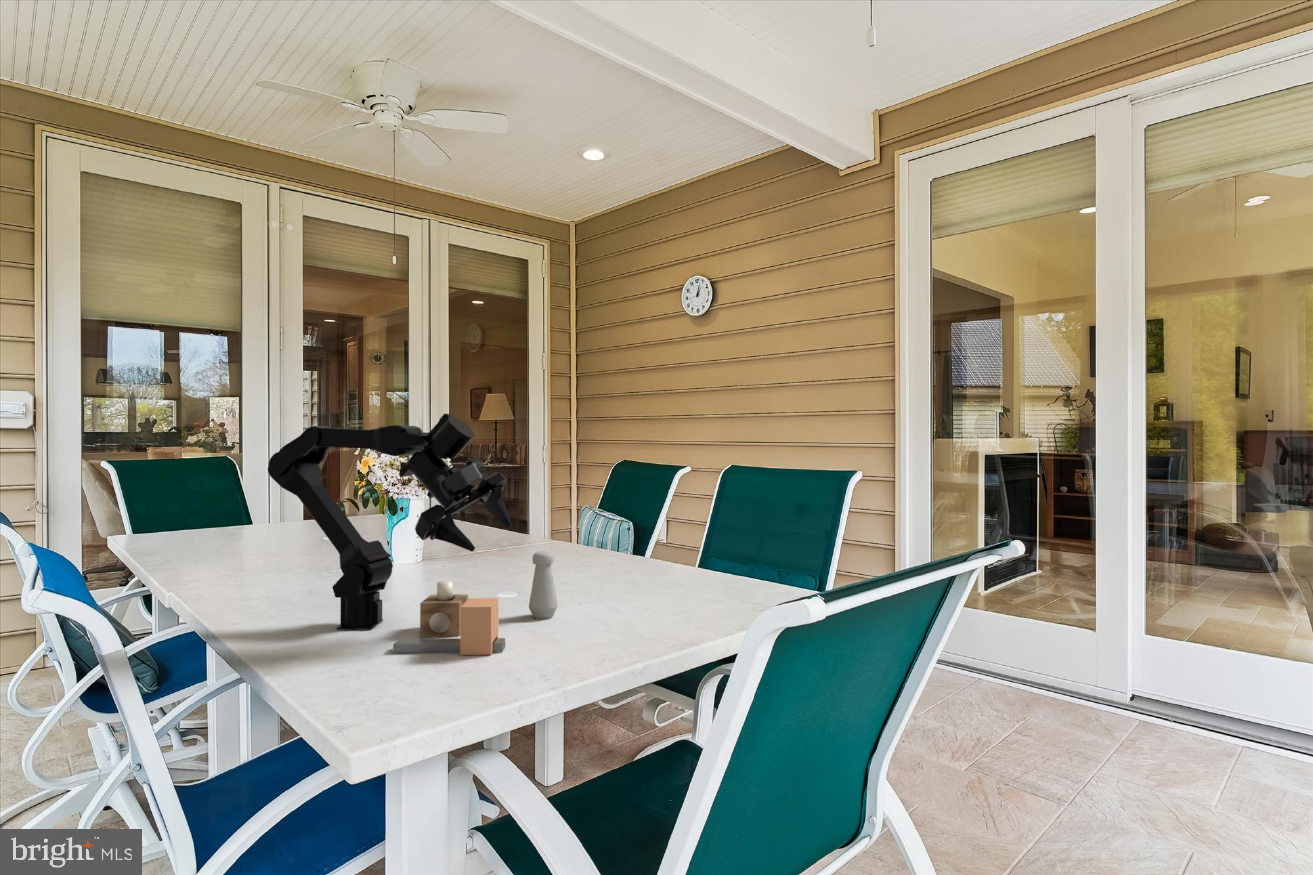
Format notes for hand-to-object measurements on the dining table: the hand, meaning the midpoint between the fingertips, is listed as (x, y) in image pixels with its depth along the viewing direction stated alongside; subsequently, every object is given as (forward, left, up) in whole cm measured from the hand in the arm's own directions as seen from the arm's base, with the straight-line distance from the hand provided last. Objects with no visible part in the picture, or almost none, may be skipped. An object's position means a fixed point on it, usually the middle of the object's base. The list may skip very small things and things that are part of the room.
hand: (492, 537), depth 126 cm
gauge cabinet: (-9, +3, -18) cm, 20 cm away
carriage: (0, -9, -18) cm, 20 cm away
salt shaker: (+8, +13, -18) cm, 24 cm away
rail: (-5, -9, -18) cm, 20 cm away
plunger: (-9, +3, -12) cm, 15 cm away
